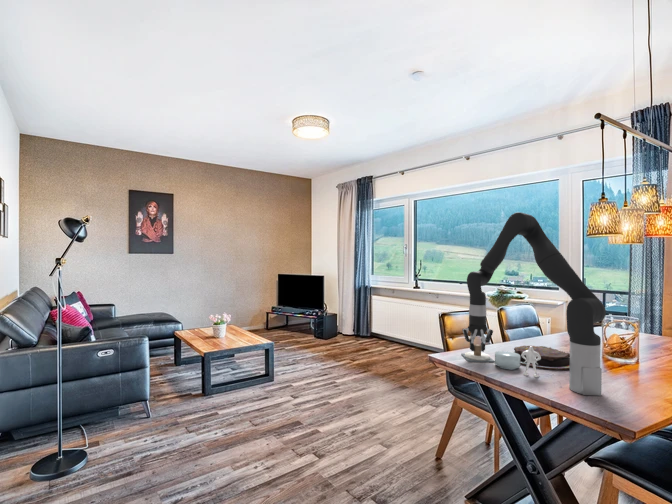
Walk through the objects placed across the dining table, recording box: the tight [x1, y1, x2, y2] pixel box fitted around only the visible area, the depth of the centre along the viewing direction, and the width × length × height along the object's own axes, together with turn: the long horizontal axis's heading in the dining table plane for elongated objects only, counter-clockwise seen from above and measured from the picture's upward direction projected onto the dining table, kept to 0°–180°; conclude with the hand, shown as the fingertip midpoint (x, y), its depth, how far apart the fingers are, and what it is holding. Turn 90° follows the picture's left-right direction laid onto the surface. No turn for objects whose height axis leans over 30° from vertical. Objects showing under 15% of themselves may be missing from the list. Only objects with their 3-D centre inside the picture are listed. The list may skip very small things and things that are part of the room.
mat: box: [461, 352, 495, 363], centre depth 173 cm, size 12×12×1 cm
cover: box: [465, 343, 491, 361], centre depth 173 cm, size 11×11×6 cm
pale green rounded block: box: [494, 350, 521, 370], centre depth 160 cm, size 10×10×6 cm
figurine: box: [521, 345, 541, 378], centre depth 149 cm, size 7×4×12 cm, turn 59°
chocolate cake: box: [513, 345, 570, 371], centre depth 170 cm, size 28×28×7 cm
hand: (477, 350), depth 173 cm, fingers open, 4 cm apart
